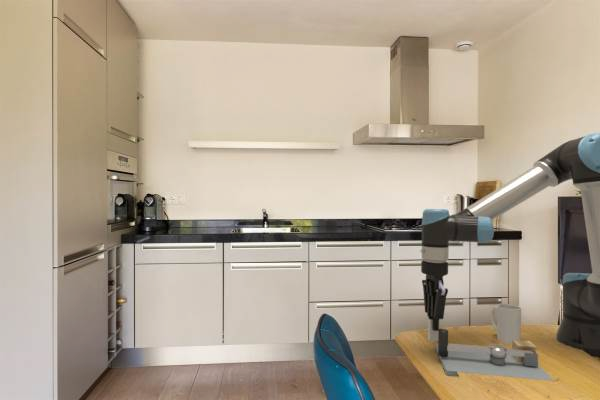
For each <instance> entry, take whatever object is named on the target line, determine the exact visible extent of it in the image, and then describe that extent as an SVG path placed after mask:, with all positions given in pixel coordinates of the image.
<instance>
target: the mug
mask: <svg viewBox="0 0 600 400" xmlns="http://www.w3.org/2000/svg"><path fill="white" fill-rule="evenodd" d="M495 314H496V321H495ZM489 315H490V316H489V317H490V323H491V326H492V330H493V332H494V331H495V332H496V335H497V337H496V338H497V341H499V342H500V343H502V344H507V345H512V340H521V338H522V337H521V332H522V331H521V330H522V328H521V327H522V307H520V306H519V305H515V304H511V303H509V304H508V303H498V304H496V305H493V306H492V309H491V311H490V314H489Z"/></svg>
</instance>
